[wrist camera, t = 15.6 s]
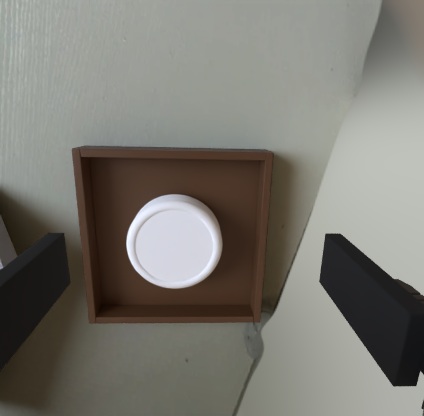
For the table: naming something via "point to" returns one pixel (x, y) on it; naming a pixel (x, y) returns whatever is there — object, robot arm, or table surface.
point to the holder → (165, 185)
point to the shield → (5, 246)
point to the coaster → (174, 241)
